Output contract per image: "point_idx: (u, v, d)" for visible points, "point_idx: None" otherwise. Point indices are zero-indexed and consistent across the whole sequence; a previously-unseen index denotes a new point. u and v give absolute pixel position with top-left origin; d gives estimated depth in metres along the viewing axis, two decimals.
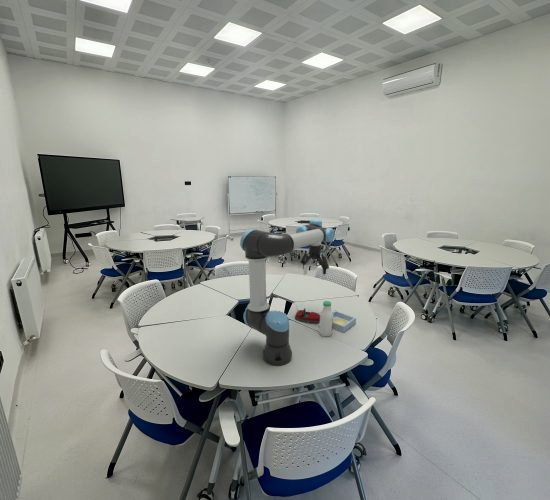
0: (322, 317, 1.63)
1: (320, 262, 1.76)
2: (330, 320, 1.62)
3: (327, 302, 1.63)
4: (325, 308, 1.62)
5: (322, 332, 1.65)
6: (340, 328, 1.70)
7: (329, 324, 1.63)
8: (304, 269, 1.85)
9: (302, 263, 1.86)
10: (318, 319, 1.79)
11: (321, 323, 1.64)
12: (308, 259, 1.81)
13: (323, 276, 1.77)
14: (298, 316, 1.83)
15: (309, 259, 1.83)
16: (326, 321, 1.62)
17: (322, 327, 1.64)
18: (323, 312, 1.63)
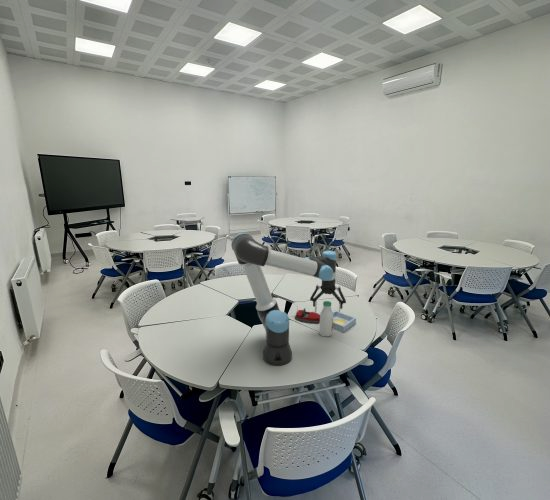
0: (322, 317, 1.63)
1: (337, 297, 1.60)
2: (330, 320, 1.62)
3: (327, 302, 1.63)
4: (325, 308, 1.62)
5: (322, 332, 1.65)
6: (340, 328, 1.70)
7: (329, 324, 1.63)
8: (315, 306, 1.64)
9: (312, 300, 1.64)
10: (318, 319, 1.79)
11: (321, 323, 1.64)
12: None
13: None
14: (298, 316, 1.83)
15: (320, 295, 1.64)
16: (326, 321, 1.62)
17: (322, 327, 1.64)
18: (323, 312, 1.63)
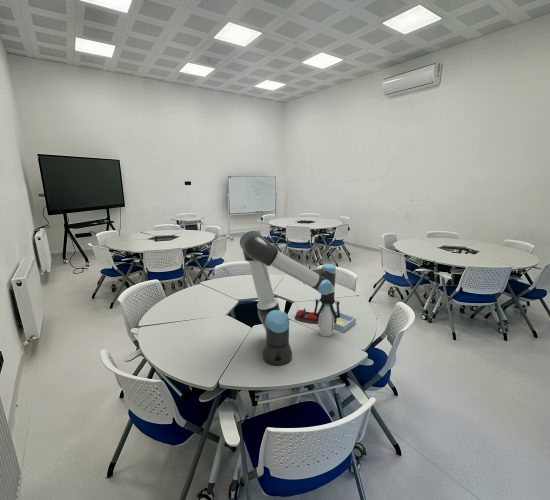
0: (322, 317, 1.63)
1: (333, 311, 1.62)
2: (330, 320, 1.62)
3: None
4: (325, 308, 1.62)
5: (322, 332, 1.65)
6: (340, 328, 1.70)
7: (329, 324, 1.63)
8: (319, 321, 1.66)
9: (316, 315, 1.66)
10: None
11: (321, 323, 1.64)
12: (322, 308, 1.64)
13: None
14: (298, 316, 1.83)
15: None
16: (326, 321, 1.62)
17: (322, 327, 1.64)
18: (323, 312, 1.63)
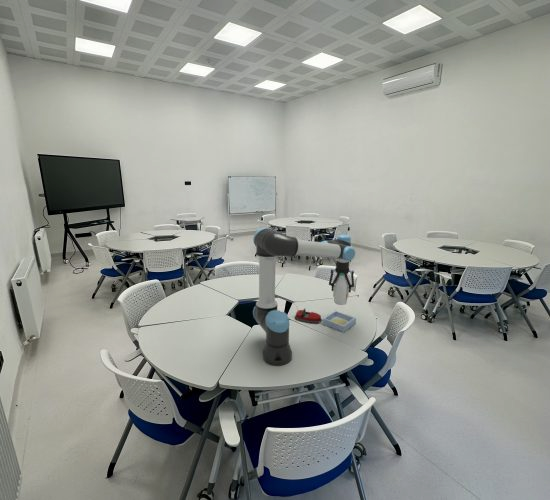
0: (337, 286, 1.70)
1: (348, 280, 1.69)
2: (345, 289, 1.69)
3: None
4: (340, 277, 1.69)
5: (337, 301, 1.72)
6: (340, 328, 1.70)
7: (344, 293, 1.70)
8: (334, 291, 1.73)
9: (331, 285, 1.73)
10: (318, 319, 1.79)
11: (336, 292, 1.71)
12: (337, 278, 1.71)
13: None
14: (298, 316, 1.83)
15: None
16: (341, 290, 1.69)
17: (337, 296, 1.71)
18: (338, 281, 1.70)
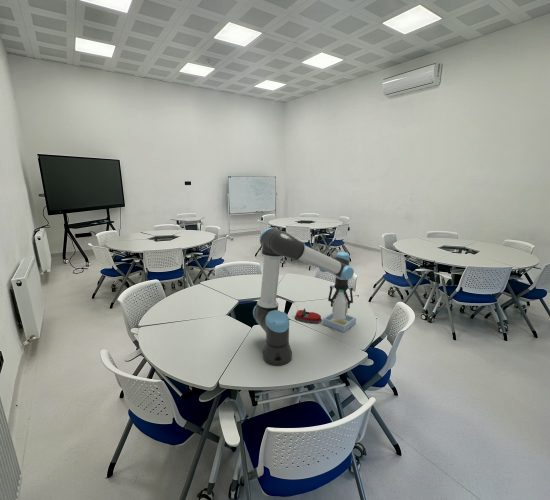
0: (336, 302, 1.73)
1: (347, 296, 1.72)
2: (344, 305, 1.72)
3: None
4: (339, 294, 1.72)
5: (336, 316, 1.75)
6: (340, 328, 1.70)
7: (343, 309, 1.72)
8: (333, 307, 1.76)
9: (330, 301, 1.76)
10: (318, 319, 1.79)
11: (335, 308, 1.74)
12: (336, 294, 1.73)
13: None
14: (298, 316, 1.83)
15: None
16: (340, 306, 1.72)
17: (336, 312, 1.74)
18: (337, 297, 1.73)
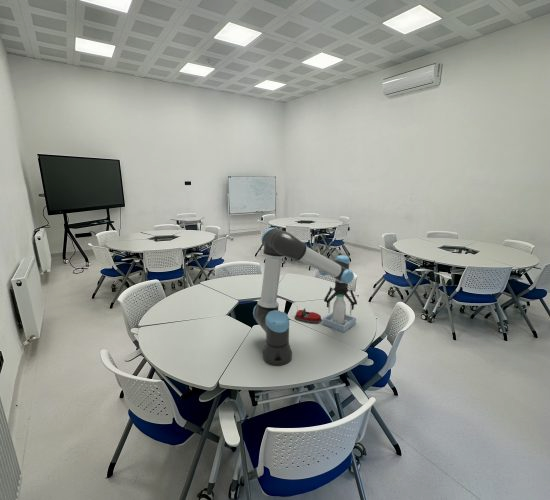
0: (335, 307, 1.74)
1: (349, 298, 1.72)
2: (343, 310, 1.73)
3: None
4: (338, 298, 1.73)
5: (335, 321, 1.75)
6: (340, 328, 1.70)
7: (342, 313, 1.73)
8: (329, 307, 1.76)
9: (326, 301, 1.76)
10: (318, 319, 1.79)
11: (334, 313, 1.75)
12: (334, 296, 1.74)
13: None
14: (298, 316, 1.83)
15: None
16: (339, 311, 1.73)
17: (335, 316, 1.75)
18: (336, 302, 1.74)
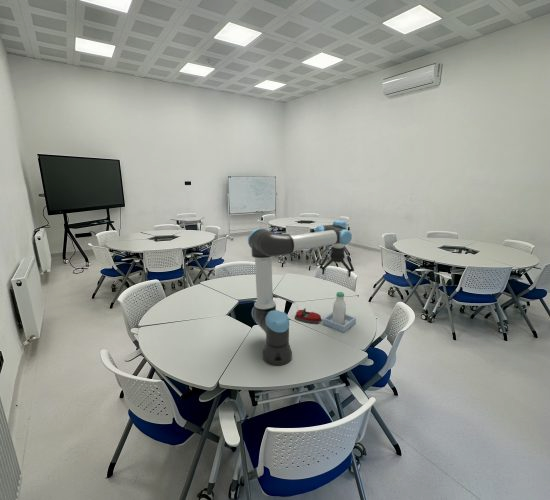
0: (335, 307, 1.74)
1: (345, 265, 1.67)
2: (343, 310, 1.73)
3: (340, 293, 1.74)
4: (338, 298, 1.73)
5: (335, 321, 1.75)
6: (340, 328, 1.70)
7: (342, 313, 1.73)
8: (324, 274, 1.72)
9: (321, 268, 1.72)
10: (318, 319, 1.79)
11: (334, 313, 1.75)
12: None
13: None
14: (298, 316, 1.83)
15: (329, 263, 1.71)
16: (339, 311, 1.73)
17: (335, 316, 1.75)
18: (336, 302, 1.73)
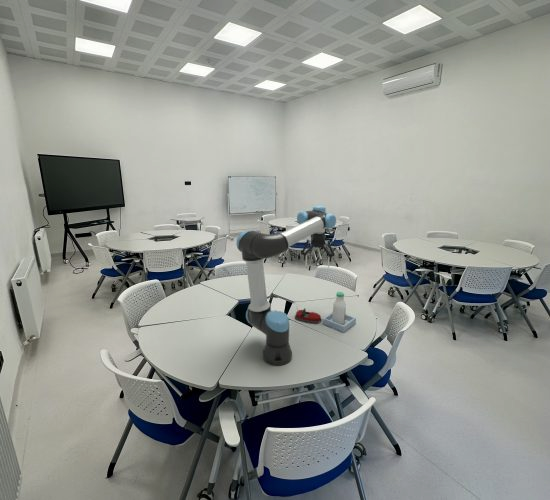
0: (335, 307, 1.74)
1: (326, 250, 1.70)
2: (343, 310, 1.73)
3: (340, 293, 1.74)
4: (338, 298, 1.73)
5: (335, 321, 1.75)
6: (340, 328, 1.70)
7: (342, 313, 1.73)
8: (306, 260, 1.74)
9: (303, 254, 1.74)
10: (318, 319, 1.79)
11: (334, 313, 1.75)
12: None
13: None
14: (298, 316, 1.83)
15: None
16: (339, 311, 1.73)
17: (335, 316, 1.75)
18: (336, 302, 1.73)
